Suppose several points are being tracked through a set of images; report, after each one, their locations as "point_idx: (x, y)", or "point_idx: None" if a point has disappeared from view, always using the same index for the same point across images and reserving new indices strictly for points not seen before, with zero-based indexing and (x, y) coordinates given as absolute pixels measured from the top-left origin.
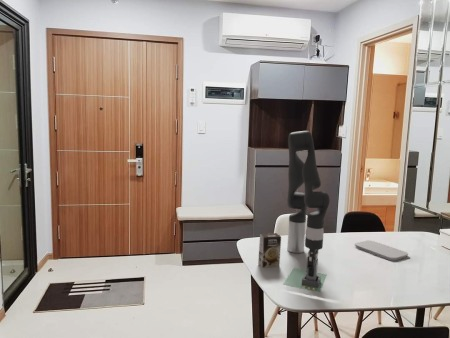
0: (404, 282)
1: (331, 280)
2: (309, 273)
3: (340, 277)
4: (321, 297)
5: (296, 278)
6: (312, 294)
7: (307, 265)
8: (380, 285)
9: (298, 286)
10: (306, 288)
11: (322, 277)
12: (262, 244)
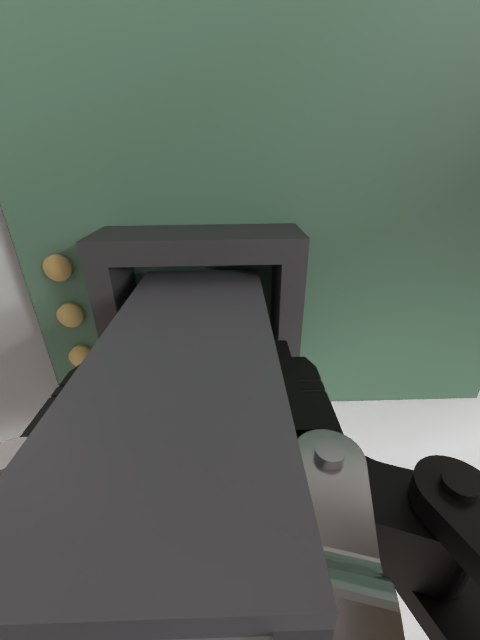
0: None
1: (389, 423)
2: (62, 388)
3: (467, 463)
4: (33, 409)
5: (249, 113)
6: (29, 345)
7: (38, 439)
8: (400, 607)
9: (31, 200)
10: (48, 293)
11: (391, 377)
12: None
